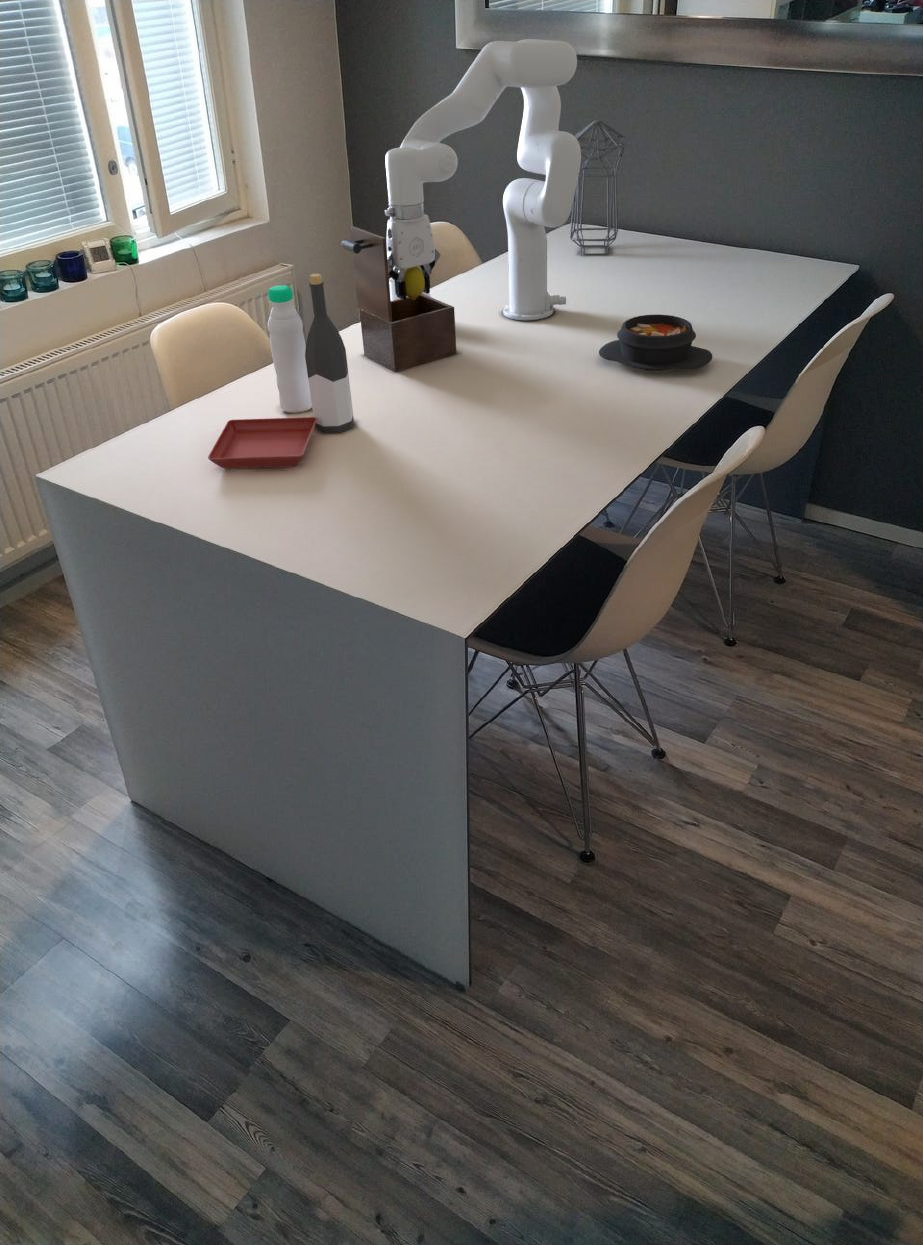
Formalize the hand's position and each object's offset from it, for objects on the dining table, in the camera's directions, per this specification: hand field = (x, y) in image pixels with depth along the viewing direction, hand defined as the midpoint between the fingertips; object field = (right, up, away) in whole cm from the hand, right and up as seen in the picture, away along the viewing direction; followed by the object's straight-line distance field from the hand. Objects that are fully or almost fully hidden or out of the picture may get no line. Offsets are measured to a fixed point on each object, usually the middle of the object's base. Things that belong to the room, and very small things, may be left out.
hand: (413, 294), depth 228 cm
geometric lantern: (+50, +35, +70) cm, 93 cm away
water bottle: (-24, -29, -15) cm, 40 cm away
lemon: (0, -1, +1) cm, 2 cm away
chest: (-1, -12, +7) cm, 14 cm away
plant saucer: (-27, -41, -33) cm, 59 cm away
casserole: (+54, -17, -4) cm, 56 cm away
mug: (-1, +1, +26) cm, 26 cm away
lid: (-9, +2, -8) cm, 12 cm away
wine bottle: (-15, -35, -24) cm, 45 cm away
